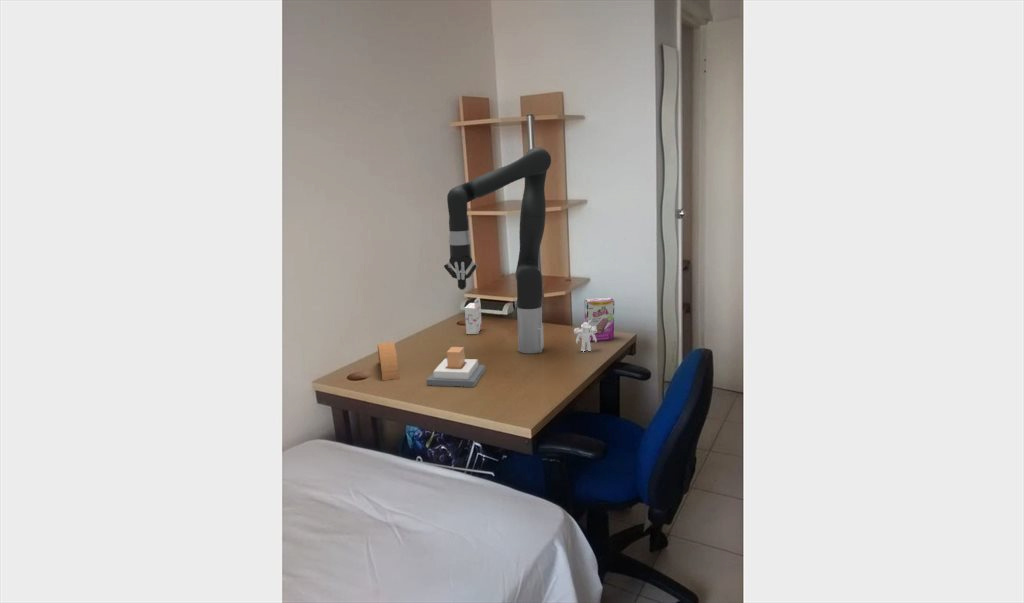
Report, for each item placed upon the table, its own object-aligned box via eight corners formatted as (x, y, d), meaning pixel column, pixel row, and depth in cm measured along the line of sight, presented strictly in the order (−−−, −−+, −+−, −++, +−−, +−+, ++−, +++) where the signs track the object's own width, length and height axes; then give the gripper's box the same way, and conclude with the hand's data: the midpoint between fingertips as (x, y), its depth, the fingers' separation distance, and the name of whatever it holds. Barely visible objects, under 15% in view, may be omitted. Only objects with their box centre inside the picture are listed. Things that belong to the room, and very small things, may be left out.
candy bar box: (587, 342, 251) (586, 301, 247) (583, 338, 256) (583, 298, 252) (614, 340, 252) (614, 299, 249) (611, 336, 257) (611, 297, 253)
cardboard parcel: (465, 369, 219) (464, 347, 217) (460, 375, 214) (459, 352, 212) (452, 369, 220) (451, 346, 218) (448, 374, 215) (446, 352, 213)
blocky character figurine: (595, 348, 243) (595, 317, 241) (599, 351, 240) (598, 320, 237) (572, 350, 242) (572, 320, 239) (576, 353, 238) (575, 322, 235)
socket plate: (485, 370, 223) (484, 358, 222) (473, 387, 208) (473, 374, 207) (441, 368, 227) (440, 356, 226) (426, 385, 211) (426, 372, 210)
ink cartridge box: (470, 329, 275) (469, 295, 271) (482, 329, 274) (480, 295, 270) (465, 334, 267) (463, 300, 263) (477, 335, 266) (475, 300, 262)
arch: (394, 361, 237) (392, 335, 235) (399, 379, 218) (396, 351, 216) (378, 362, 236) (376, 337, 234) (381, 381, 217) (379, 353, 215)
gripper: (479, 241, 235) (482, 287, 239) (445, 241, 238) (448, 286, 242) (474, 244, 228) (477, 291, 232) (439, 244, 231) (442, 291, 235)
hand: (462, 289), depth 237 cm, fingers closed
